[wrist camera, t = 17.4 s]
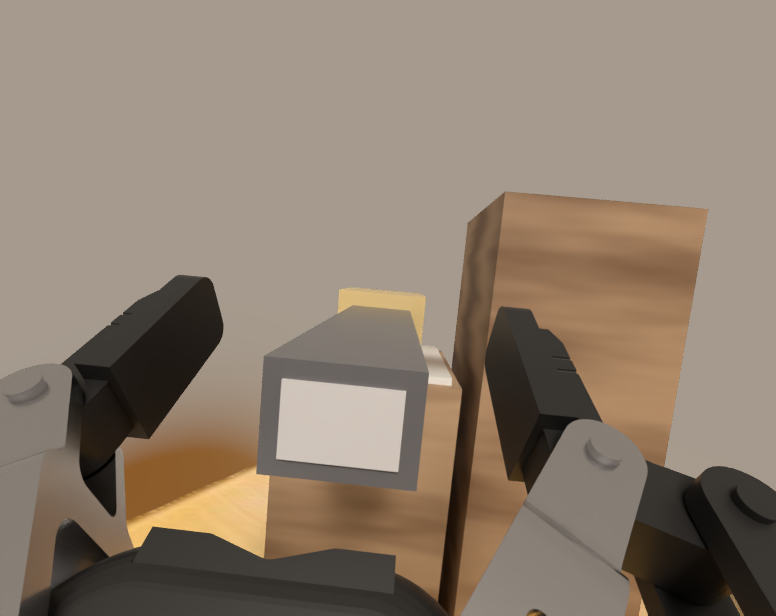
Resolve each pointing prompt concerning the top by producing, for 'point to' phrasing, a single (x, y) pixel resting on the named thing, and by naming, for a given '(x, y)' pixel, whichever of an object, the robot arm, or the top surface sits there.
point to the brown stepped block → (471, 391)
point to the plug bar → (349, 395)
